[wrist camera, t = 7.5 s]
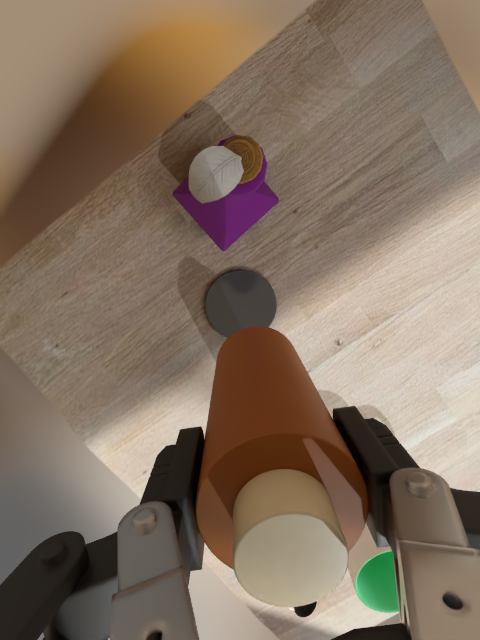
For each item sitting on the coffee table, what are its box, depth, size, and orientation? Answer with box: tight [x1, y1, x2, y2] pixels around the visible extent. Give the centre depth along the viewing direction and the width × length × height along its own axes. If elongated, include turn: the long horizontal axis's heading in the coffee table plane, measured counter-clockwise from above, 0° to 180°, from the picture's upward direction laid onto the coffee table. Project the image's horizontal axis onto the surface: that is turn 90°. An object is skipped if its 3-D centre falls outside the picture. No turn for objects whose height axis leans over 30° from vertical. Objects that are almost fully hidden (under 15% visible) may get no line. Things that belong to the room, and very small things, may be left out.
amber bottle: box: [195, 326, 369, 607], centre depth 14 cm, size 5×5×12 cm
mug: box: [348, 524, 399, 613], centre depth 41 cm, size 12×8×10 cm, turn 131°
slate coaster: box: [206, 270, 277, 338], centre depth 40 cm, size 8×8×1 cm
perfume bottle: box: [173, 135, 279, 251], centre depth 29 cm, size 8×8×18 cm
